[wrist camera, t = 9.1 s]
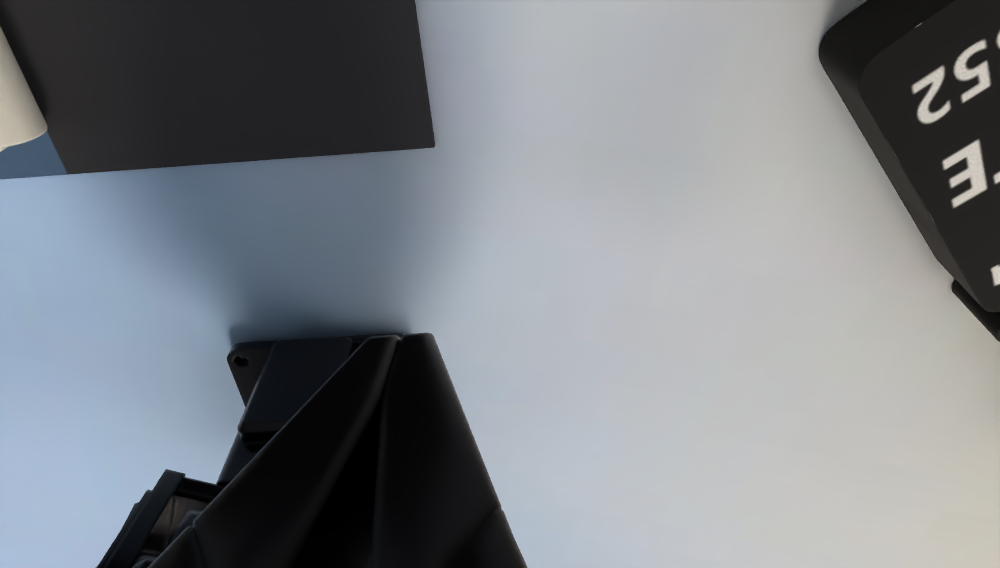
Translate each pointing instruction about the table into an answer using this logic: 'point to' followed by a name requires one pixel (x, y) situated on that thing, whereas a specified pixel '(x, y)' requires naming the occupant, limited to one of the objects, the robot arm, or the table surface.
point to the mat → (214, 81)
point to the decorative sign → (932, 125)
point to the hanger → (16, 102)
